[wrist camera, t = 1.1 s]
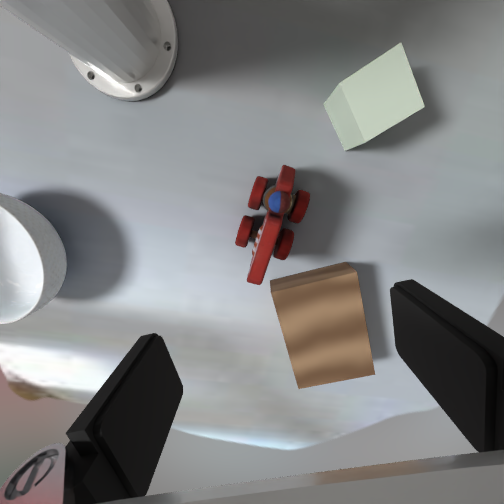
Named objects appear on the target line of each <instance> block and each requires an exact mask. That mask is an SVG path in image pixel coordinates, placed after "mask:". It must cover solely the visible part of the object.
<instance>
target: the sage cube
mask: <svg viewBox="0 0 504 504" xmlns="http://www.w3.org/2000/svg"><path fill="white" fill-rule="evenodd" d="M324 107H325V109H326V111H327V113H328V115H329V117H330V120H331V122H332V124H333V126H334V128H335V130H336V133H337V135H338V137H339V139H340V141H341V143H342V146H343V148H344V150H345V151H346V150H349V149H351V148H353V147H356V146H358V145H361V144H363V143H365V142H367V141H369V140H370V139H372V138H374V137H375V136H377V135H379V134H380V133H382V132H384V131H385V130H387V129H389V128H390V127H392V126H394V125H395V124H397V123H399V122H400V121H402V120H404V119H405V118H407V117H409V116H410V115H412V114H414V113H415V112H417V111H419V110H420V109H422V108H424V107H425V106H424V103H423V100H422V98H421V95H420V92H419V89H418V87H417V84H416V81H415V79H414V76H413V73H412V70H411V68H410V65H409V62H408V59H407V57H406V54H405V51H404V49H403V46H402V43H399V44H398V45H396V46H395V47H393V48H392V49H390V50H389V51H387V52H386V53H384V54H383V55H381V56H380V57H378V58H377V59H375V60H373V61H372V62H370V63H369V64H367V65H366V66H364V67H363V68H361V69H360V70H358V71H357V72H355V73H354V74H352V75H351V76H349V77H348V78H346V79H345V80H343V81H342V82H340V83H339V84H338V86H337V87H336V88H335V90H334V91H333V92H332V94H331V95H330V96H329V98H328V99H327V100H326V102H325V103H324Z"/></svg>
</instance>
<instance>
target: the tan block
mask: <svg viewBox="0 0 504 504" xmlns="http://www.w3.org/2000/svg"><path fill="white" fill-rule="evenodd" d="M270 287H271V294H272V298H273V301H274V305H275V308H276V312H277V315H278V319H279V322H280V326H281V329H282V333H283V336H284V340H285V343H286V347H287V350H288V354H289V357H290V361H291V364H292V368H293V371H294V375H295V378H296V381H297V385H298V388H299V389H301V388H306V387H311V386H317V385H322V384H327V383H333V382H338V381H343V380H348V379H354V378H359V377H364V376H369V375H375V371H374V365H373V360H372V354H371V348H370V343H369V337H368V331H367V326H366V320H365V314H364V309H363V303H362V297H361V292H360V286H359V281H358V275H357V271H355V270H354V269H353V268H352V267H351V266H350V265H349V264H348V263H347V262H343V263H339V264H335V265H331V266H327V267H323V268H319V269H315V270H310V271H306V272H302V273H298V274H294V275H290V276H286V277H282V278H278V279H274V280H270Z"/></svg>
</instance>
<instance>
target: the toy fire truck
mask: <svg viewBox="0 0 504 504" xmlns="http://www.w3.org/2000/svg"><path fill="white" fill-rule="evenodd" d="M294 178H295V169H294V168H292V167H289V166H286V165H283V166H282V168H281V170H280V173H279V176H278V179H277V182H276V185H274V186H272V187H270V188H269V189H267V191H265V190H266V187H267V184H268V179H267V178H264V177H260V176H258V177H257V178H256V180H255V183H254V186H253V189H252V192H251V195H250V199H249V203H248V207H249V208H251V209H255V210H259V208H260V206H261V203H262V201H263V204H264V207H265V209H266V210H267V213H266V216H265V219H264V222H263V225H262V226H261V227H260V228H259V231H258V232H257V231H254V230H252V227H253V224H254V221H255V219H254V218H253V217H250V216H246V215H245V216H244V217H243V218H242V221H241V224H240V227H239V230H238V234H237V237H236V242H235V244H236V245H237V246H241V247H246V246H247V244H248V240H249V237H251V238H254V239H256V241H255V244H254V247H253V250H252V255H253V257H252V261H251V265H250V270H249V273H248V277H247V282H249V283H253V284H257V285H260V284H261V283H262V281H263V278H264V275H265V272H266V269H267V266H268V264H269V261H270V258H271V255H272V252H273V249H274V246H275V249H274V257H275V258H277V259H280V260H285V259H286V258H287V256H288V254H289V252H290V250H291V247H292V243H293V239H294V232H293V231H292V230H289V229H286V228H283V229H282V230H281V232H280V234H279V231H280V228H281V225H282V219H283V215H284V214H285V213H286V214H288V217H287V218H288V220H289V221H290V222H293V223H300V222H301V220H302V219H303V217H304V215H305V213H306V210H307V207H308V204H309V200H310V194H309V193H308V192H306V191H303V190H298V191H297V192H296V193H295V195H294V194H292V193H291V192H292V189H293V184H294ZM278 234H279V236H278ZM277 237H278V238H277Z"/></svg>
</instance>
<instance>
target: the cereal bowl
mask: <svg viewBox="0 0 504 504" xmlns="http://www.w3.org/2000/svg"><path fill="white" fill-rule="evenodd" d="M66 260H67V258H66V252H65V249H64V245H63V243H62V241H61V239H60V237H59V235H58V233H57V232H56V230H55V229H54V227H53V226H52V225H51V223H50V222H49V221H48V220H47V219H46V218H45V217H44V216H43V215H42V214H41V213H40V212H38V211H36V210H35V209H34V208H33V207H31V206H29V205H28V204H26V203H24V202H22V201H21V200H18V199H16V198H14V197H10V196H8V195H4V194H1V193H0V324H6V323H11V322H15V321H18V320H20V319H23V318H25V317H27V316H28V315H31V314H32V313H34V312H36V311H37V310H39V309H40V308H42V307H43V306H44V305H46V304H48V302H49V301H51V300H52V299H53V298H54V297H55V296H56V294H57V293H58V292H59V290H60V288H61V286H62V284H63V282H64V279H65V275H66V270H67V261H66Z"/></svg>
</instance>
